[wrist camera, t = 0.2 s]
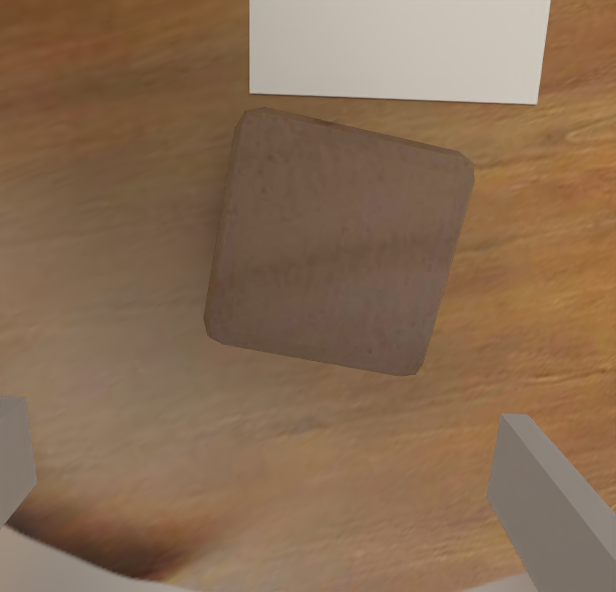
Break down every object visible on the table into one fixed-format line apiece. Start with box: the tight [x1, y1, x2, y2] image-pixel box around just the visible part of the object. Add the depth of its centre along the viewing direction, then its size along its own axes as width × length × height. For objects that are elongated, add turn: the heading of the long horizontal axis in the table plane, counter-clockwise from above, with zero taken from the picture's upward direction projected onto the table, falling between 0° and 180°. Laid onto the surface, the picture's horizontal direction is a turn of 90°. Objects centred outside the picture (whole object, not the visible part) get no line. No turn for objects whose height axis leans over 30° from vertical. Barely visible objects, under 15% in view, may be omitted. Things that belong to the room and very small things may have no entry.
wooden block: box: [203, 107, 474, 376], centre depth 29 cm, size 10×10×20 cm
